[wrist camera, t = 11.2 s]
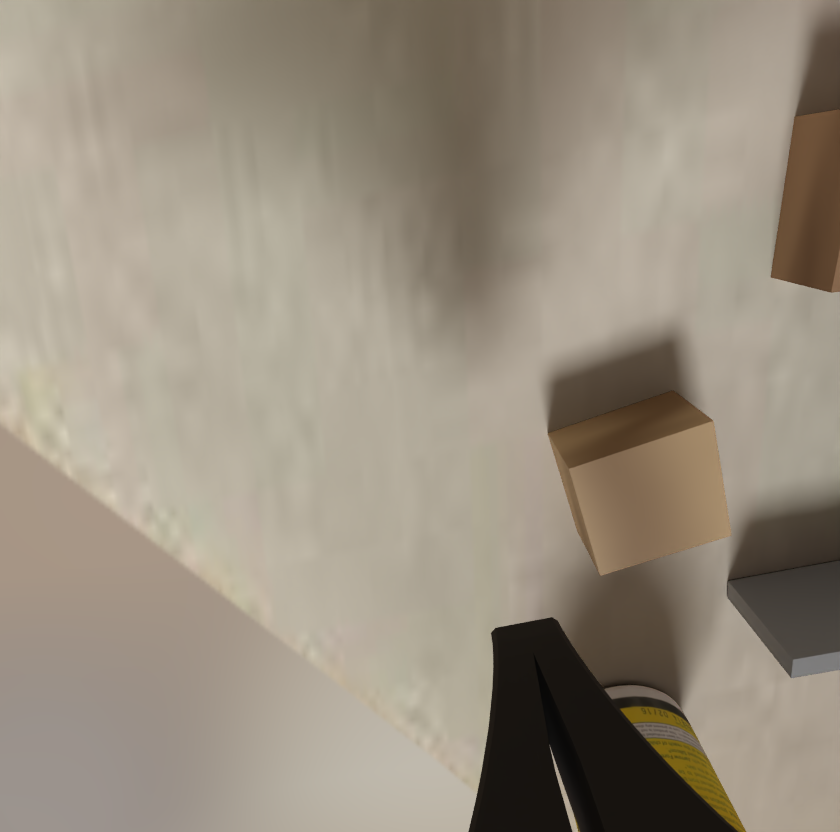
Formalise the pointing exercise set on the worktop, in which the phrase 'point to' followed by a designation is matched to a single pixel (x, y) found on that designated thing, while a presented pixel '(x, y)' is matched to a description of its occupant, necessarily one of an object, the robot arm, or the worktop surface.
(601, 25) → the worktop surface
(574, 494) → the oak tile
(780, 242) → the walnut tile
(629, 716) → the supplement bottle
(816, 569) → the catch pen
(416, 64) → the worktop surface
